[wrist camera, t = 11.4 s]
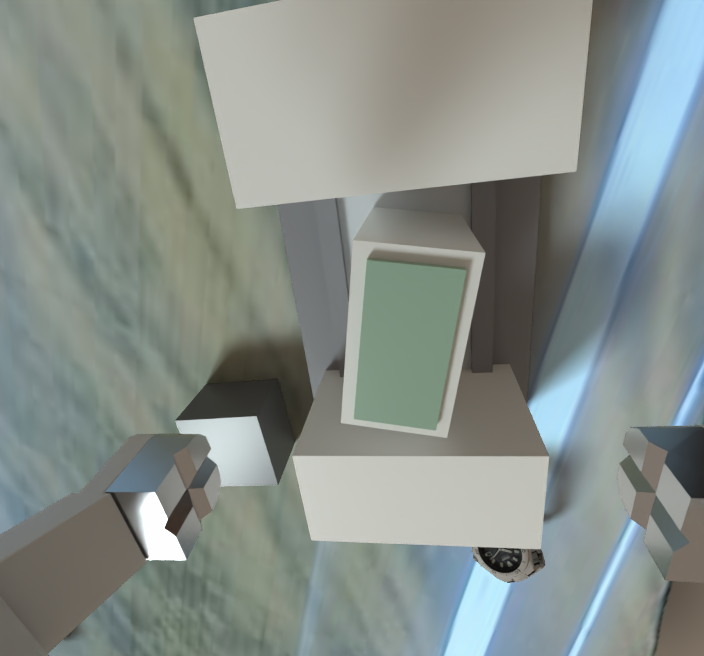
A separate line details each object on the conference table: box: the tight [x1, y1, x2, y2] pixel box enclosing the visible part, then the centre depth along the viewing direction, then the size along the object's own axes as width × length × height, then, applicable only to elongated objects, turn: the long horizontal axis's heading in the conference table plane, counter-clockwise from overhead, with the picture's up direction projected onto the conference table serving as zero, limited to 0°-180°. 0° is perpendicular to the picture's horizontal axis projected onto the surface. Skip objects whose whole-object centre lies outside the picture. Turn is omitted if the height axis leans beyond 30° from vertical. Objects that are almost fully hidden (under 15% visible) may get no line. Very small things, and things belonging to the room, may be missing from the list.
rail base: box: [194, 0, 593, 549], centre depth 18 cm, size 20×12×8 cm, turn 7°
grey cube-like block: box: [175, 379, 295, 486], centre depth 26 cm, size 5×5×4 cm
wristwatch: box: [472, 547, 545, 583], centre depth 25 cm, size 4×6×5 cm, turn 43°
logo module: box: [341, 207, 485, 438], centre depth 17 cm, size 7×4×7 cm, turn 176°
